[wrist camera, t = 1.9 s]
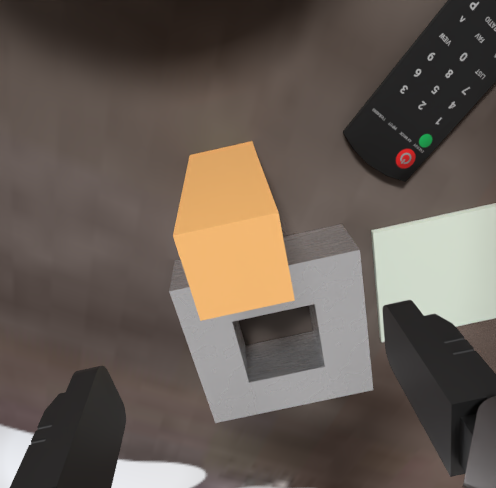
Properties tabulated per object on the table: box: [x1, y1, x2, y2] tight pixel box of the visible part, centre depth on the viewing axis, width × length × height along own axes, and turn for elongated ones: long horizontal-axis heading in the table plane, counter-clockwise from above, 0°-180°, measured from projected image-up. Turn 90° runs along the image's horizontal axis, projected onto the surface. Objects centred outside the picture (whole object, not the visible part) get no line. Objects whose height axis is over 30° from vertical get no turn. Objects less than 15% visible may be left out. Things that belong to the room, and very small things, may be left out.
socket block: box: [169, 224, 373, 423], centre depth 30 cm, size 12×12×4 cm
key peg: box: [173, 141, 295, 321], centre depth 22 cm, size 4×4×12 cm
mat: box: [371, 203, 496, 342], centre depth 31 cm, size 10×10×1 cm
